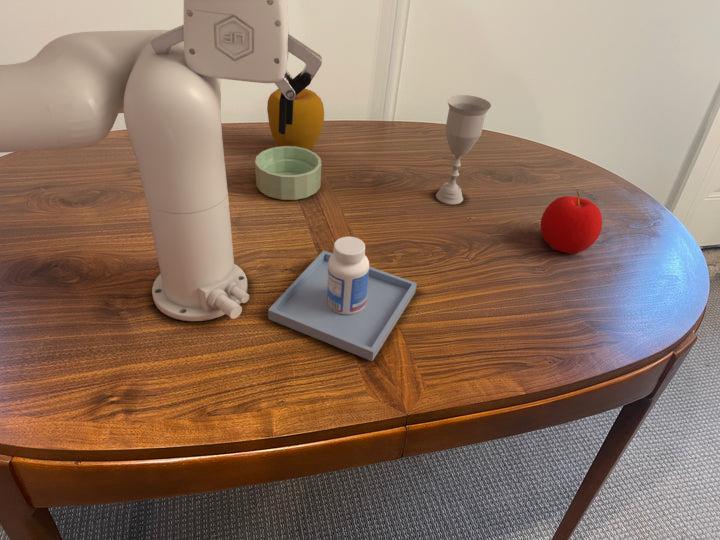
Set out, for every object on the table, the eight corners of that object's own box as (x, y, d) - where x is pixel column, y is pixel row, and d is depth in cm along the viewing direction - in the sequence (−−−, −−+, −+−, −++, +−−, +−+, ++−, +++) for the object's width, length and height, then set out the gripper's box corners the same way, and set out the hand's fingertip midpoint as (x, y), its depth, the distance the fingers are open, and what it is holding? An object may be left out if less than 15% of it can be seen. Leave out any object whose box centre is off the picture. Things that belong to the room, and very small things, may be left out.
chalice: (438, 208, 96) (457, 111, 85) (424, 189, 101) (440, 95, 90) (475, 205, 98) (498, 110, 87) (460, 186, 103) (480, 94, 92)
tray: (415, 292, 77) (417, 283, 76) (372, 361, 66) (373, 352, 65) (323, 259, 82) (323, 250, 81) (268, 319, 71) (267, 309, 70)
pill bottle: (365, 290, 76) (371, 233, 70) (366, 316, 72) (373, 259, 66) (326, 288, 76) (329, 232, 70) (325, 315, 71) (328, 257, 65)
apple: (332, 150, 111) (335, 88, 103) (301, 169, 103) (301, 104, 95) (290, 135, 115) (290, 74, 107) (257, 152, 108) (254, 88, 100)
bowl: (333, 186, 99) (334, 162, 96) (287, 209, 92) (287, 183, 89) (289, 164, 105) (289, 140, 102) (243, 184, 97) (241, 159, 94)
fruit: (589, 236, 92) (610, 186, 86) (592, 267, 85) (616, 214, 79) (535, 225, 94) (552, 174, 88) (534, 254, 87) (552, 201, 81)
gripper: (128, -56, 46) (151, 131, 57) (328, -30, 48) (315, 147, 58) (151, -67, 52) (169, 104, 62) (329, -43, 54) (317, 119, 64)
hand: (239, 125), depth 60 cm, fingers open, 9 cm apart
